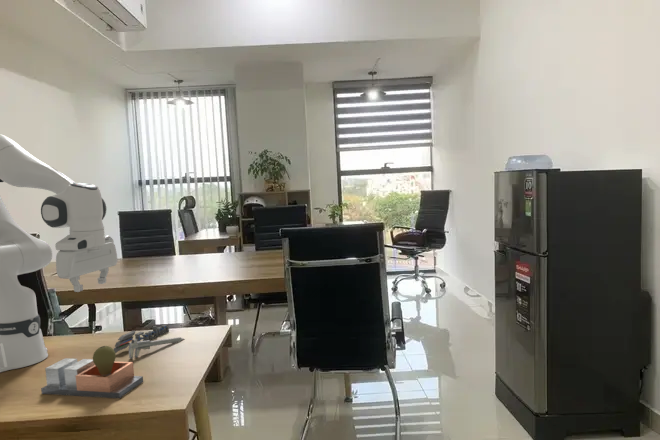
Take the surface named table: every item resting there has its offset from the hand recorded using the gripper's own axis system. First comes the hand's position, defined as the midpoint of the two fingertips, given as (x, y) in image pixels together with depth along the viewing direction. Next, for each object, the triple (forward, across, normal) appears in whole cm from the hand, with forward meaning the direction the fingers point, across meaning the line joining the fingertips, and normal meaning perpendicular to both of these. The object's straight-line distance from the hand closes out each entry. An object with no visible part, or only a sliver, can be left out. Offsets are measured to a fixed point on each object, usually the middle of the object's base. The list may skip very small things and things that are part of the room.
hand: (90, 287), depth 134 cm
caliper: (+26, -21, +7) cm, 34 cm away
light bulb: (+24, +9, +11) cm, 28 cm away
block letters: (+27, -26, -2) cm, 37 cm away
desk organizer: (+26, +9, +7) cm, 28 cm away
